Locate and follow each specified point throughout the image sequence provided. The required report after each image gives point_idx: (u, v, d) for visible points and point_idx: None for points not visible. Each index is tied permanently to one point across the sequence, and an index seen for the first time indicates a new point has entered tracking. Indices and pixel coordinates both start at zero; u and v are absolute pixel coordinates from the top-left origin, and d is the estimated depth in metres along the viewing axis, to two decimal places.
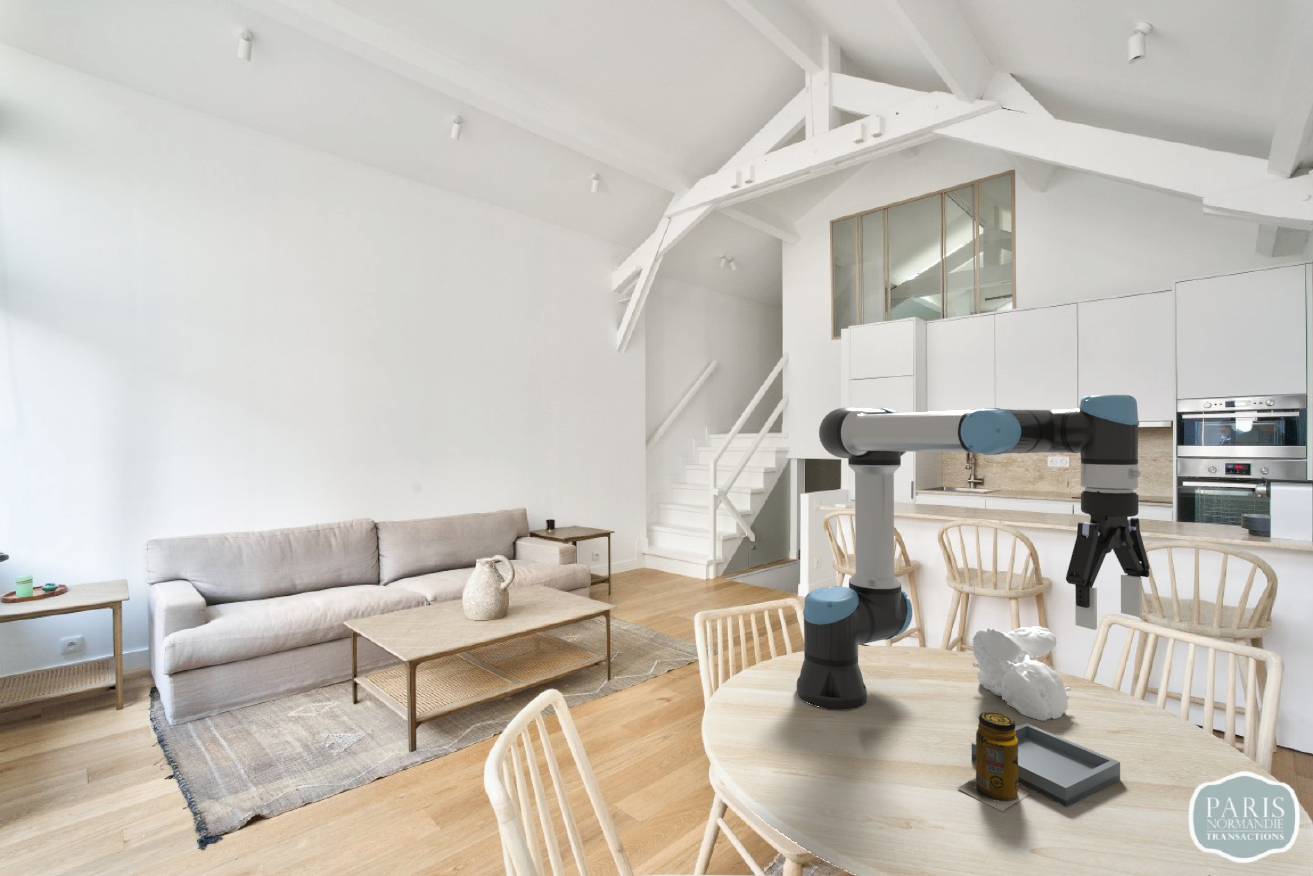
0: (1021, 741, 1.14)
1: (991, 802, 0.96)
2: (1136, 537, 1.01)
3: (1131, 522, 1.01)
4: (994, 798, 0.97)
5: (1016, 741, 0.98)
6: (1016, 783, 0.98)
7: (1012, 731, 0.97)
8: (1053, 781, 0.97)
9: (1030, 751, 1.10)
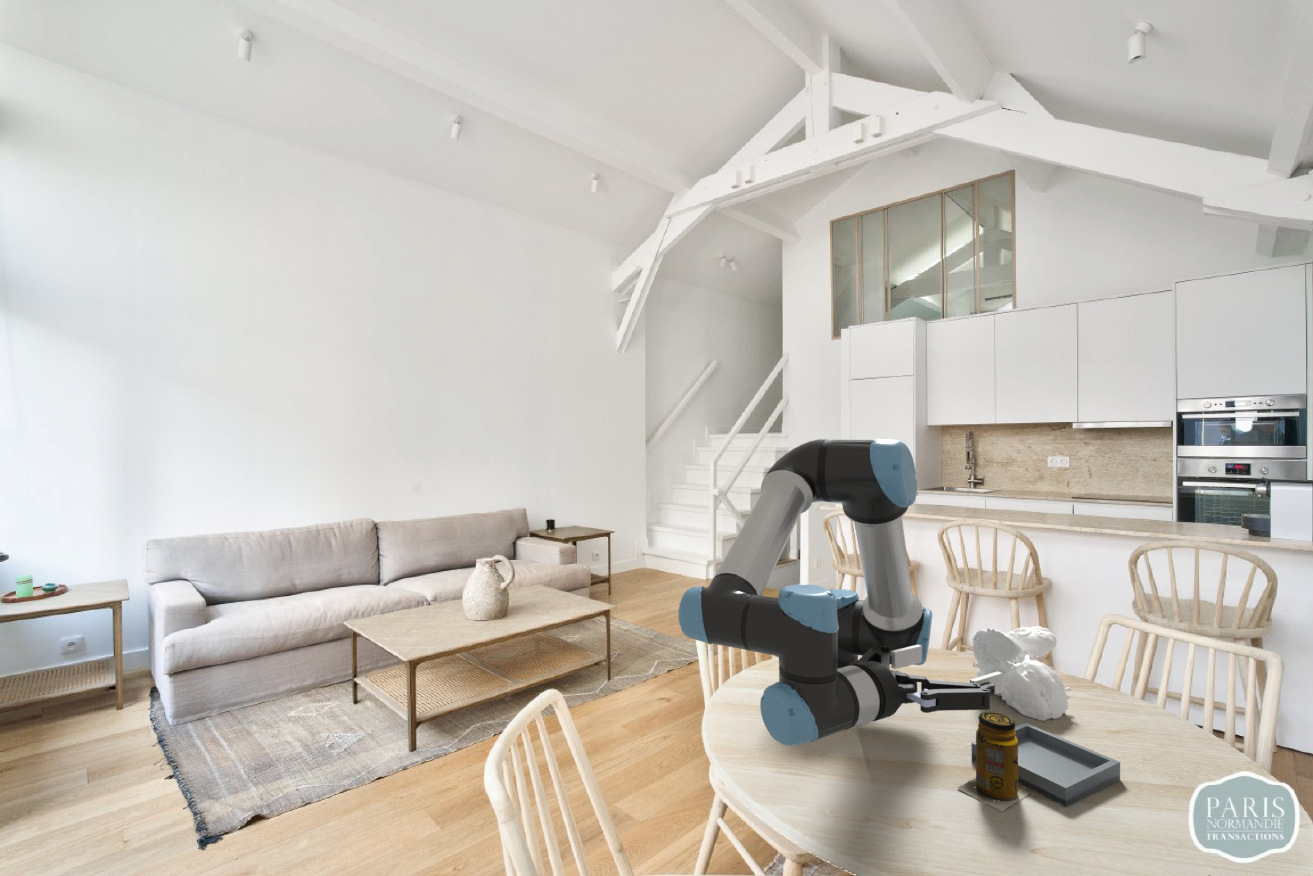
0: (1021, 741, 1.14)
1: (991, 802, 0.96)
2: None
3: None
4: (994, 798, 0.97)
5: (1016, 741, 0.98)
6: (1016, 783, 0.98)
7: (1012, 731, 0.97)
8: (1053, 781, 0.97)
9: (1030, 751, 1.10)
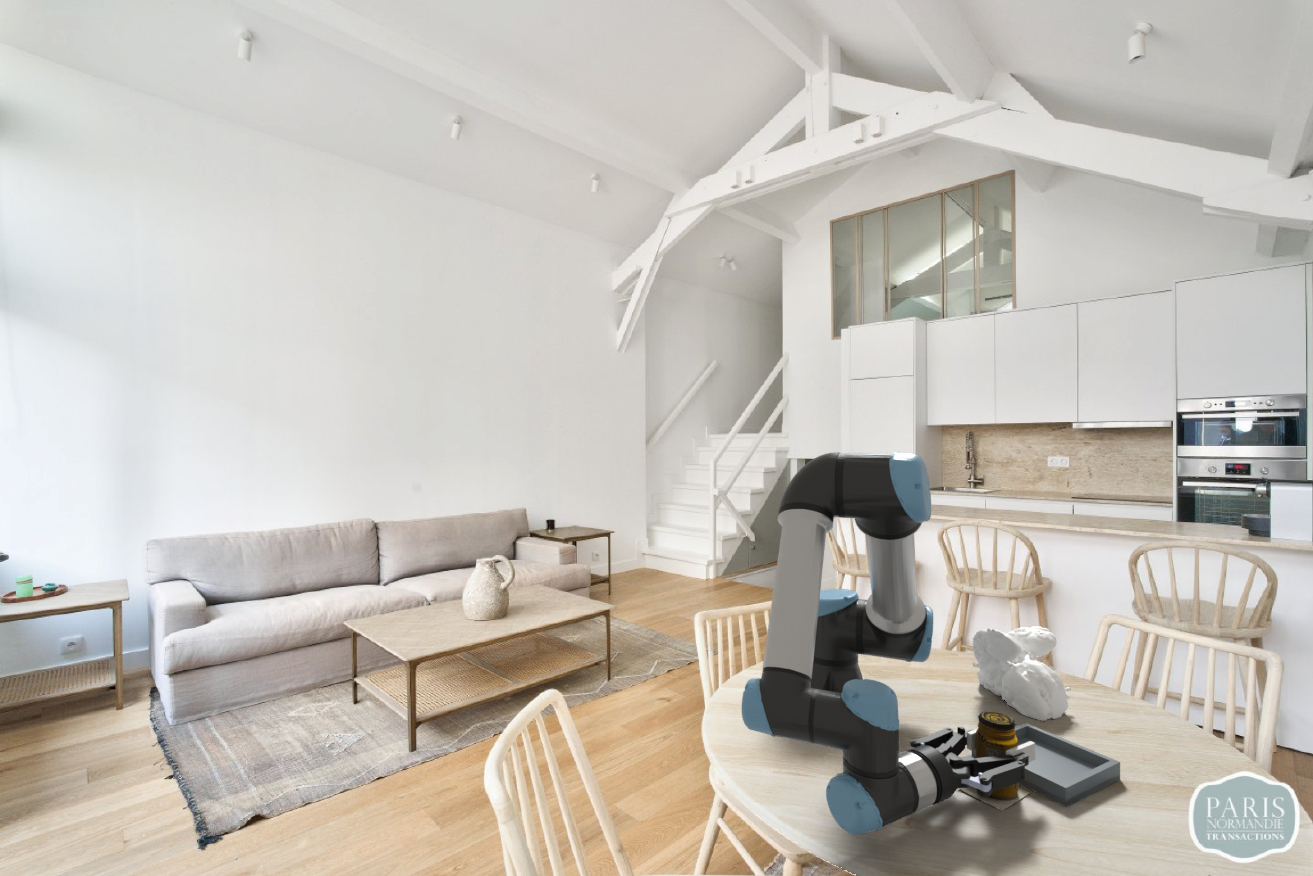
0: (1021, 741, 1.14)
1: (991, 802, 0.96)
2: None
3: None
4: (994, 797, 0.97)
5: (1016, 740, 0.98)
6: None
7: (1011, 730, 0.97)
8: (1053, 781, 0.97)
9: None
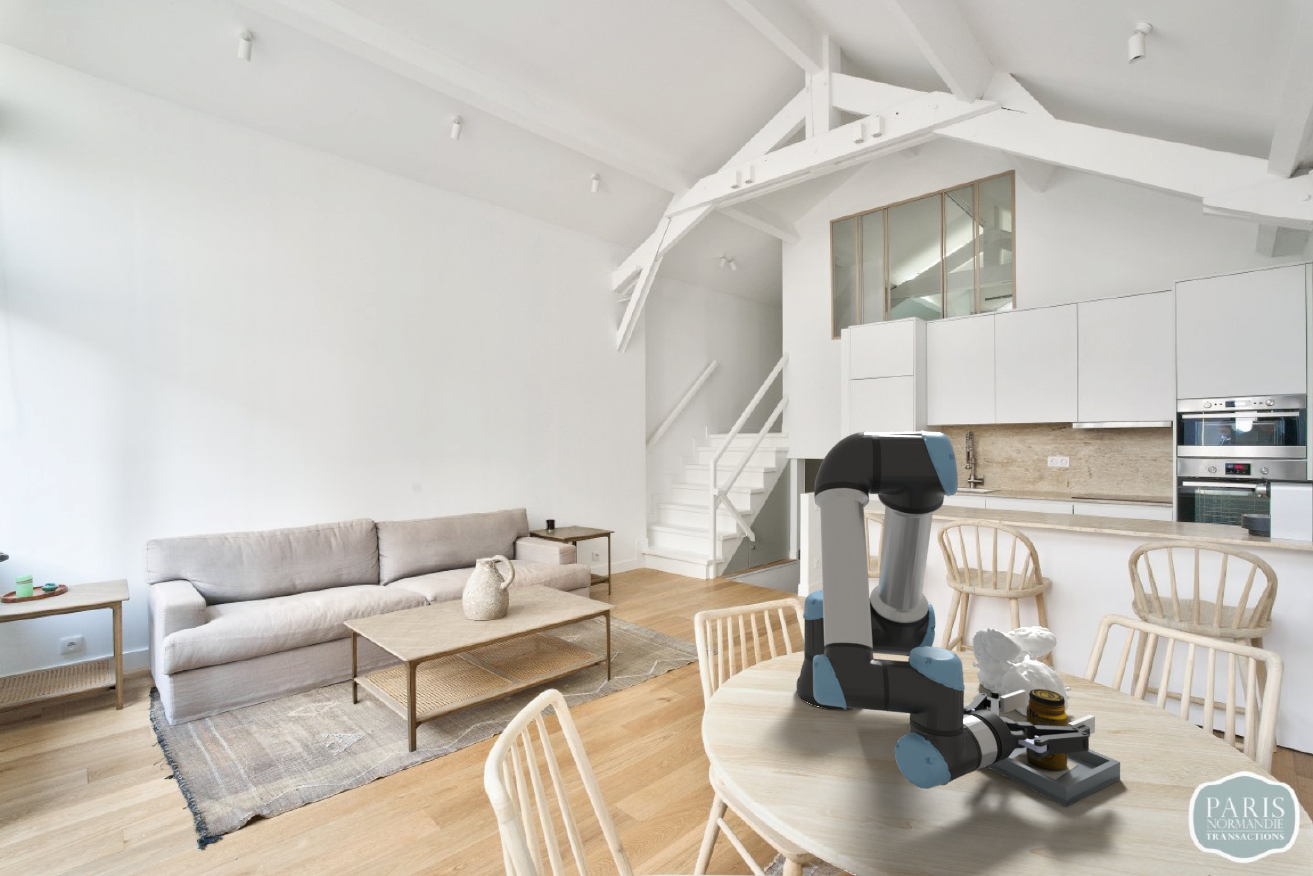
0: None
1: (1043, 772, 1.03)
2: None
3: None
4: (1045, 768, 1.04)
5: (1066, 715, 1.04)
6: (1066, 755, 1.04)
7: (1062, 706, 1.04)
8: (1053, 781, 0.97)
9: None
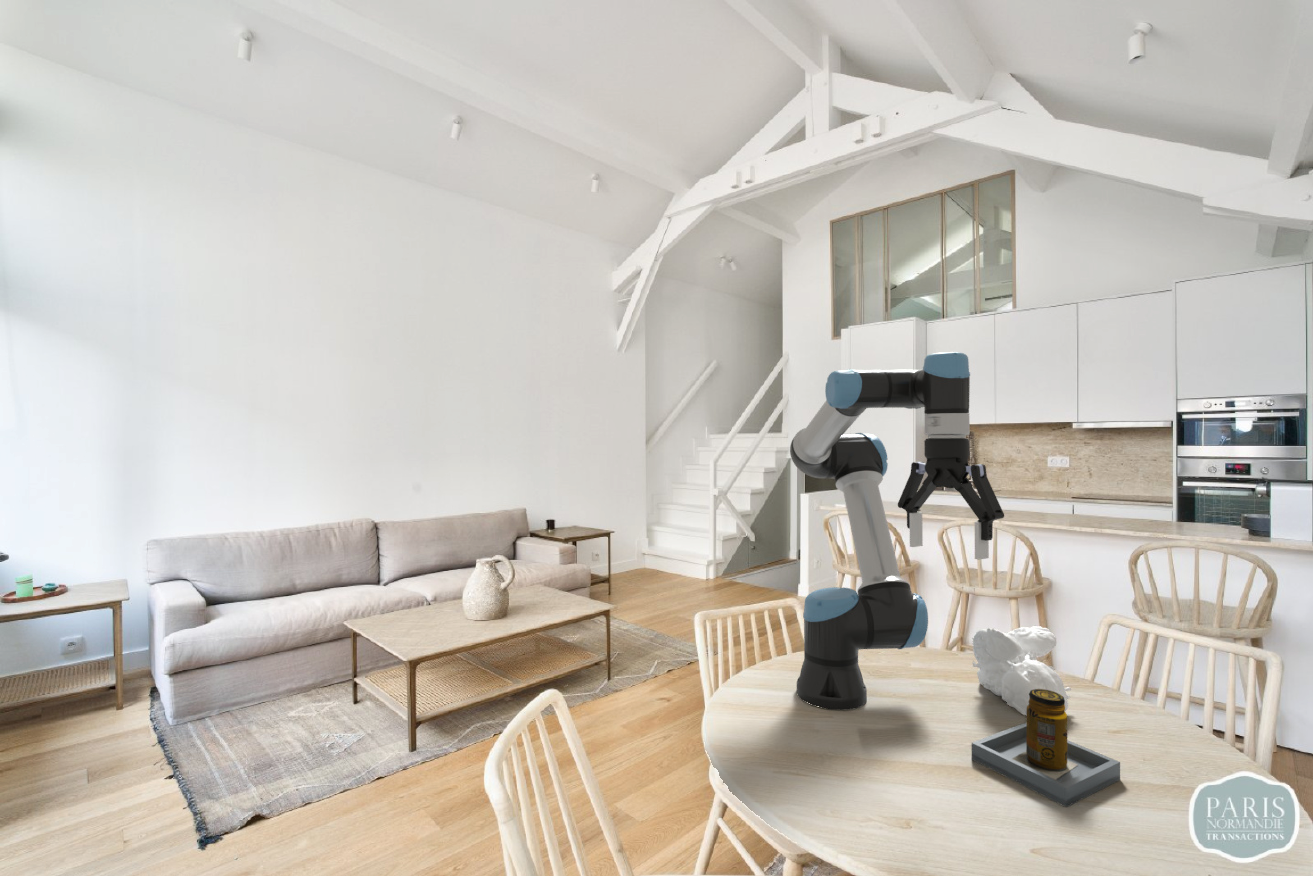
0: (1021, 741, 1.14)
1: (1043, 772, 1.03)
2: None
3: None
4: (1045, 768, 1.04)
5: (1066, 715, 1.04)
6: (1066, 755, 1.04)
7: (1062, 706, 1.04)
8: (1053, 781, 0.97)
9: None
